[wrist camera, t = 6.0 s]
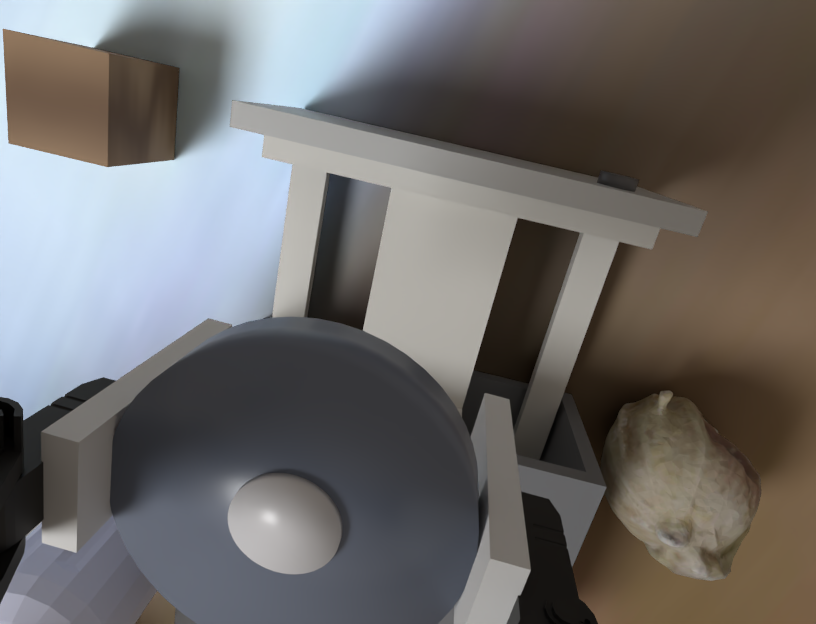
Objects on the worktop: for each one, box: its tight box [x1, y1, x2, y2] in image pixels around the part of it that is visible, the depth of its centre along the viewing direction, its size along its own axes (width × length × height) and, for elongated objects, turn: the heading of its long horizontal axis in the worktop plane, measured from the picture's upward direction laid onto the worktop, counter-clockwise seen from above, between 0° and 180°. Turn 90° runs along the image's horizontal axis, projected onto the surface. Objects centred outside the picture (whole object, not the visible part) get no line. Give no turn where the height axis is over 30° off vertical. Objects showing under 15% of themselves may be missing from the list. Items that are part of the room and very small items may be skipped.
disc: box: [110, 317, 479, 624], centre depth 12 cm, size 8×8×2 cm
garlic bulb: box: [600, 390, 761, 580], centre depth 29 cm, size 9×8×10 cm
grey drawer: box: [230, 100, 708, 460], centre depth 27 cm, size 18×19×9 cm
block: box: [3, 29, 179, 167], centre depth 27 cm, size 5×5×6 cm
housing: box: [175, 318, 607, 624], centre depth 32 cm, size 18×20×9 cm
